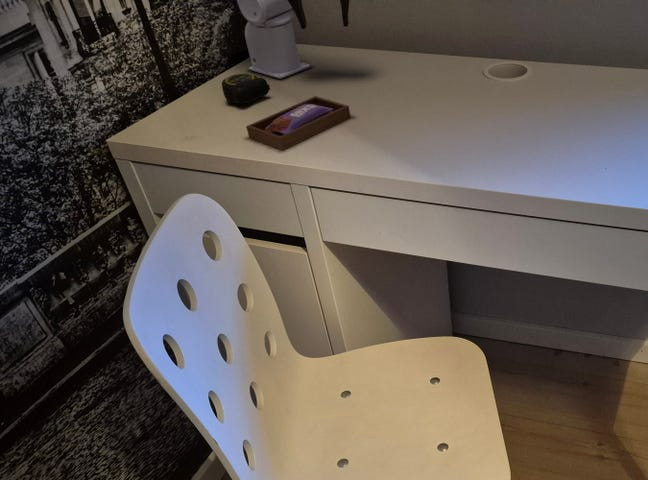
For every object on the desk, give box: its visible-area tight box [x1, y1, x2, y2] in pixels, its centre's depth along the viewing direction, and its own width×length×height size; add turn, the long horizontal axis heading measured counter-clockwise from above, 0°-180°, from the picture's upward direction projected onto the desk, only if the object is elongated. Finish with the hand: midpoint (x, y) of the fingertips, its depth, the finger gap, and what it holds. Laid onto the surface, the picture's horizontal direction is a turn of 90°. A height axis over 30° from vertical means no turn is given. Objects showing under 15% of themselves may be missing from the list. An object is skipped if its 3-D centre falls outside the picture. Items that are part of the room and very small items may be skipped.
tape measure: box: [221, 73, 271, 104], centre depth 120 cm, size 7×7×4 cm
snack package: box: [265, 104, 333, 134], centre depth 111 cm, size 12×2×5 cm
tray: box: [245, 95, 351, 151], centre depth 111 cm, size 15×8×2 cm, turn 144°
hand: (325, 26), depth 121 cm, fingers open, 7 cm apart
